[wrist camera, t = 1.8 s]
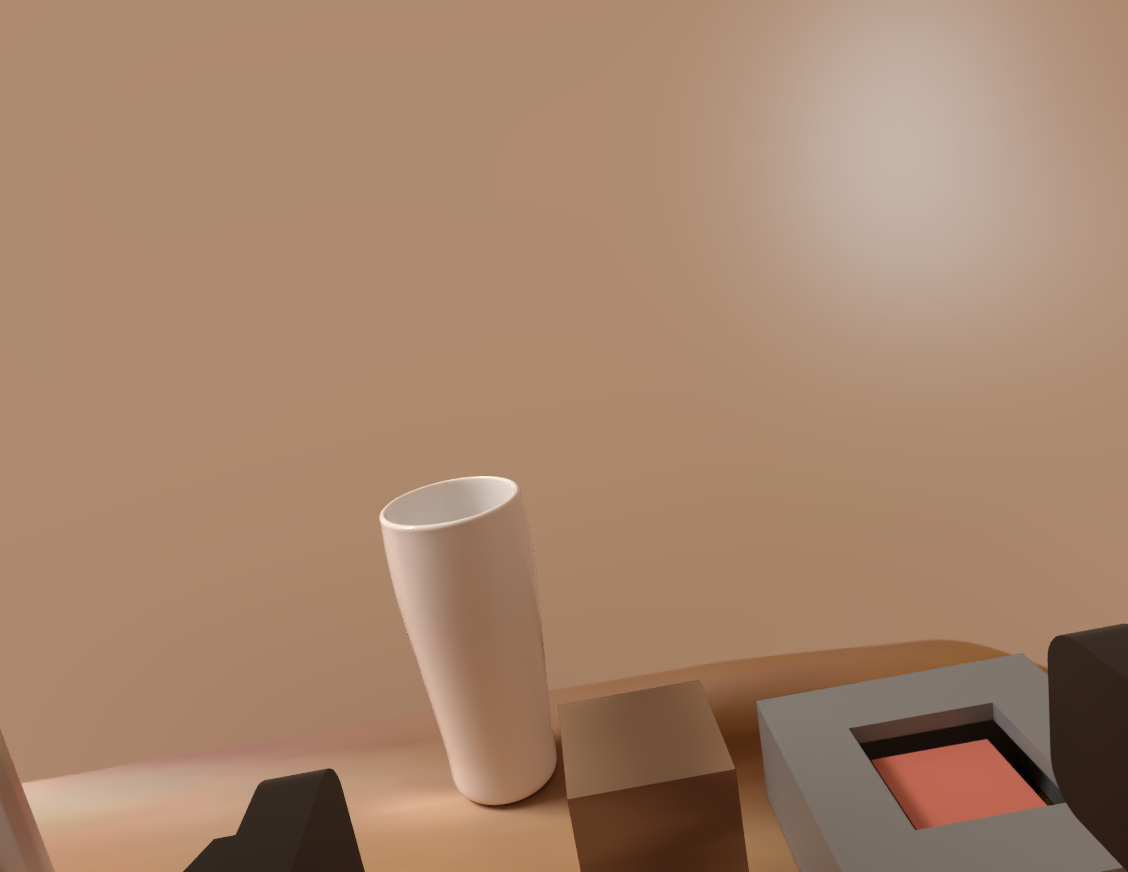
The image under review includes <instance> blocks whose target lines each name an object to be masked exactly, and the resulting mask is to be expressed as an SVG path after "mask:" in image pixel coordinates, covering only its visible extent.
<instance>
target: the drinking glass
mask: <svg viewBox="0 0 1128 872" xmlns="http://www.w3.org/2000/svg"><path fill="white" fill-rule="evenodd" d="M379 519H380V524H381V530H382V536H383V541H384V547H385V552H386V557H387V562H388V567H389V571H390V576H391V580H392V584H393V588H394V592H395V595H396V599H397V602H398V605H399V609H400V612H401V615H402V618H403V621H404V624H405V627H406V630H407V633H408V636H409V639H410V642H411V645H412V648H413V651H414V654H415V657H416V660H417V663H418V666H419V669H420V672H421V675H422V678H423V681H424V684H425V687H426V690H427V693H428V696H429V699H430V702H431V705H432V708H433V711H434V714H435V717H436V720H437V724H438V727H439V730H440V733H441V736H442V739H443V742H444V745H445V748H446V752H447V755H448V760H449V764H450V768H451V773H452V777H453V780H454V783H455V785H456V787H457V789H458V790H459V791H460V793H461V794H462V795H464V796H465V797H466V798H468V799H469V800H471V801H474V802H476V803H480V804H486V805H502V804H508V803H513V802H516V801H519V800H522V799H524V798H526V797H528V796H530V795H532V794H534V793H535V792H537V791H538V790H539V789H541V788H542V787H543V786H544V785H545V784H546V783H547V782H548V780H549V779H550V778H551V776H552V774H553V772H554V770H555V767H556V762H557V753H556V746H555V741H554V735H553V730H552V724H551V715H550V706H549V696H548V686H547V675H546V665H545V654H544V644H543V633H542V623H541V611H540V600H539V589H538V580H537V571H536V563H535V557H534V550H533V545H532V540H531V534H530V529H529V524H528V520H527V516H526V512H525V507H524V503H523V499H522V495H521V490H520V487H519V486H518V484H517V483H515V482H514V481H512V480H509V479H506V478H502V477H494V476H475V477H465V478H457V479H452V480H447V481H442V482H438V483H434V484H431V485H427V486H424V487H421V488H418V489H415V490H413V491H410V492H408V493H406V494H404V495H402V496H400V497H398V498H396V499H394V500H393V501H391V502H390V503H389V504H388V505H386V506H385V507H384V509H383V510H382V511H381V513H380V518H379Z"/></svg>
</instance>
